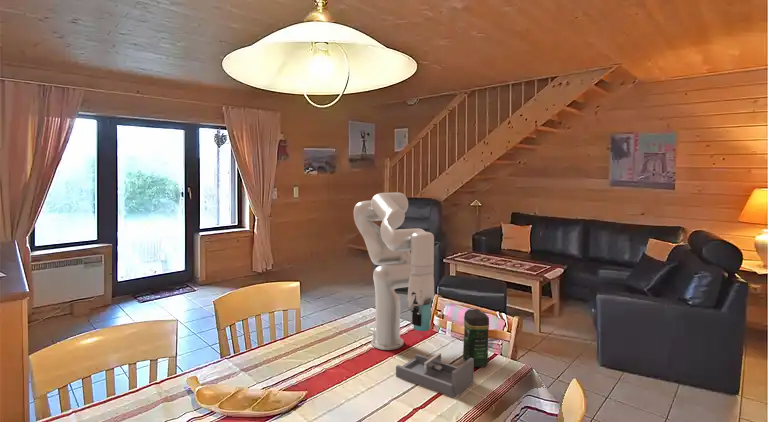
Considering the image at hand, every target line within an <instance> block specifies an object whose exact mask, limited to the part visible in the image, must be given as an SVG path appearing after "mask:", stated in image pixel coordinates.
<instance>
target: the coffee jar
mask: <svg viewBox="0 0 768 422" xmlns="http://www.w3.org/2000/svg"><path fill="white" fill-rule="evenodd" d="M463 325H464V326H463V327H464V329H463V331H464V332H463V349H462V352H463V353H462V358H463V361H464V362H465V361H467V360H468V359H469V358H473V359H474V367H475V368H483V367H485V366H487V365H488V362H489V361H488V359H489V355H488V354H489V331H490V330H489V328H490V317H489V316H488V314H486V313H485V312H483V311H482V310H480V309H476V308H475V309H474V308H471V309H469V308H468V309H467V310H466V311H465V312H464V316H463Z"/></svg>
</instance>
